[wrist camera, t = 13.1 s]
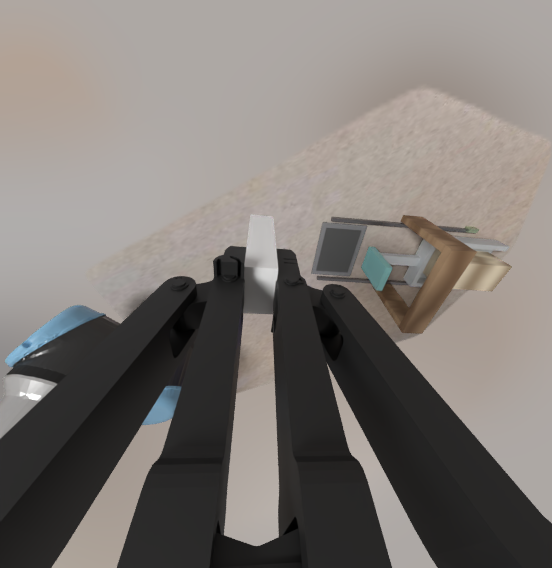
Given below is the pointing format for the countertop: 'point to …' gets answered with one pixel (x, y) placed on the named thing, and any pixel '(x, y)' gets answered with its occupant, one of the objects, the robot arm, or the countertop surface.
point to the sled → (415, 261)
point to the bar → (477, 271)
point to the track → (396, 224)
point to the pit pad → (337, 248)
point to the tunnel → (428, 278)
